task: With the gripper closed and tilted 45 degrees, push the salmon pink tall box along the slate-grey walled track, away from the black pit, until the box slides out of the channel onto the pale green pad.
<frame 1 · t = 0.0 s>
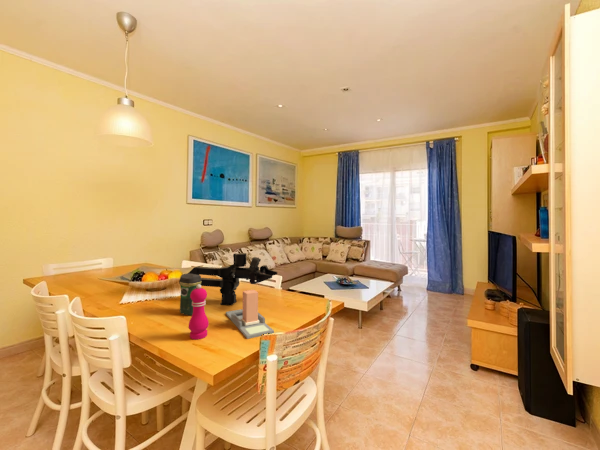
hand: (274, 274, 138), 17 cm above the table, tool horizontal, fingers open, 9 cm apart
pepper mill: (198, 336, 104), on the table
coffee jar: (190, 313, 129), on the table
salmon pink tall box: (250, 306, 115), point 8 cm above the table, slide at 0.0 cm
track: (247, 322, 118), on the table
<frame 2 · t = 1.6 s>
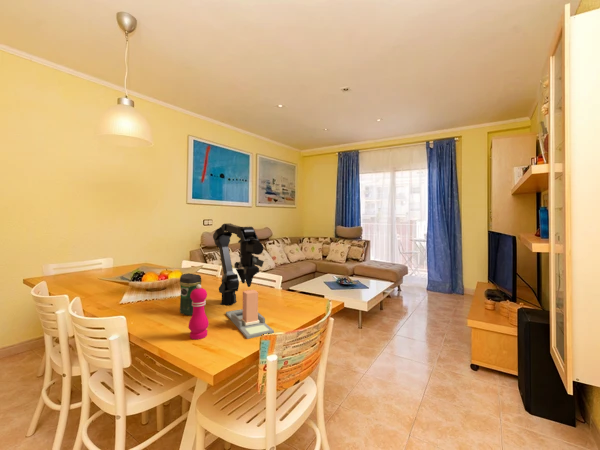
hand: (246, 285, 131), 13 cm above the table, tool pointing down, fingers open, 8 cm apart
nothing on the table moved.
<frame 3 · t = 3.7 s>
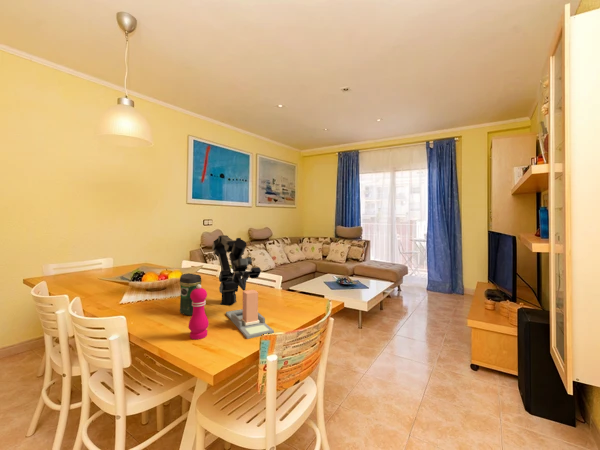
hand: (244, 289, 122), 13 cm above the table, tool tilted 45°, fingers closed
nothing on the table moved.
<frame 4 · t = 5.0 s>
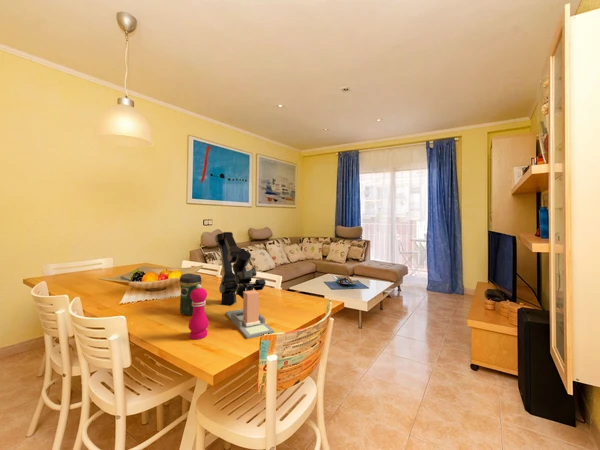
hand: (248, 303, 117), 9 cm above the table, tool tilted 45°, fingers closed, pressing on salmon pink tall box
salmon pink tall box: (251, 307, 114), point 8 cm above the table, slide at 0.9 cm, touching gripper
everything else where it was.
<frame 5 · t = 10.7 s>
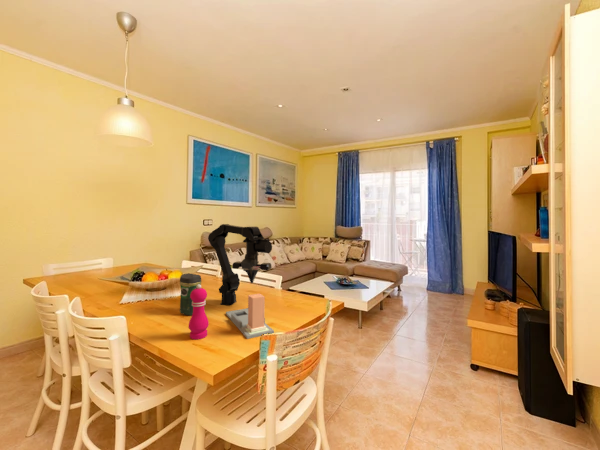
hand: (251, 282, 135), 13 cm above the table, tool pointing down, fingers closed
salmon pink tall box: (256, 311, 109), point 8 cm above the table, slide at 7.0 cm
everything else where it was.
at the end: salmon pink tall box slide at 7.0 cm; salmon pink tall box inside the target area (1.1 cm from its centre), resting on track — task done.
